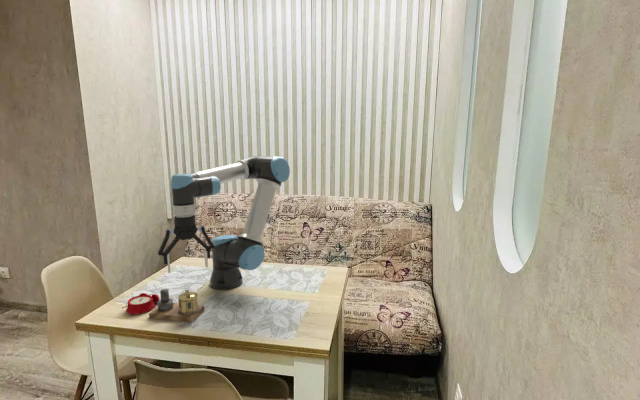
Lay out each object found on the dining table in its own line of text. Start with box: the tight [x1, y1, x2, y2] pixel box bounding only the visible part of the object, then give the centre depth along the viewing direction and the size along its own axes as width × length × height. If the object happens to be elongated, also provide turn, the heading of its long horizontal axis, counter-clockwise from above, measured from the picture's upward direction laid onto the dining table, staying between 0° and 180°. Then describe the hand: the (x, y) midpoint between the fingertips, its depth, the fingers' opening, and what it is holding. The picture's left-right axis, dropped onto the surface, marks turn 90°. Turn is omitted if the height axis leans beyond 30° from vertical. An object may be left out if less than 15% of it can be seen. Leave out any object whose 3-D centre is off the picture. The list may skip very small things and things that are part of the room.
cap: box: [178, 289, 199, 314], centre depth 144 cm, size 7×7×7 cm
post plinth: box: [148, 288, 206, 323], centre depth 146 cm, size 18×10×10 cm, turn 79°
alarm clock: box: [121, 292, 160, 316], centre depth 152 cm, size 10×6×15 cm
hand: (188, 269), depth 142 cm, fingers open, 13 cm apart
